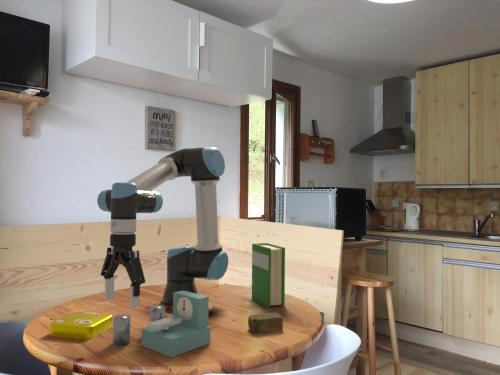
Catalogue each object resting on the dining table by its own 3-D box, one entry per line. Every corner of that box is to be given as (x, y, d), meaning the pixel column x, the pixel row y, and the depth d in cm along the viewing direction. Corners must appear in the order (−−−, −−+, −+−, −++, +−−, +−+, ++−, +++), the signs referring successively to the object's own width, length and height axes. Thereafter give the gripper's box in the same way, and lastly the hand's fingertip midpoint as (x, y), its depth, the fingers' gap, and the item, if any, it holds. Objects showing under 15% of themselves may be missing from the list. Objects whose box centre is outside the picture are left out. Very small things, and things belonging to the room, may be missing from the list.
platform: (173, 325, 127) (173, 315, 127) (182, 328, 124) (182, 318, 124) (149, 332, 120) (149, 322, 120) (157, 336, 118) (157, 325, 118)
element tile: (114, 326, 143) (115, 312, 143) (89, 341, 128) (89, 325, 128) (76, 323, 146) (76, 309, 146) (47, 337, 131) (47, 322, 131)
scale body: (180, 333, 135) (180, 290, 136) (210, 343, 126) (210, 297, 127) (141, 345, 124) (142, 298, 124) (171, 357, 115) (172, 306, 115)
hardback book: (284, 306, 170) (285, 247, 170) (268, 308, 167) (268, 248, 168) (266, 296, 186) (267, 243, 187) (251, 297, 184) (252, 243, 184)
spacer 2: (158, 328, 140) (158, 304, 141) (167, 331, 137) (168, 306, 137) (146, 331, 137) (146, 307, 137) (155, 335, 133) (155, 309, 134)
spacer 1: (123, 339, 129) (124, 313, 129) (133, 343, 126) (133, 316, 126) (109, 343, 125) (109, 316, 126) (118, 347, 122) (119, 320, 122)
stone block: (246, 329, 140) (247, 314, 141) (276, 325, 145) (276, 311, 145) (254, 334, 135) (254, 319, 135) (284, 330, 140) (285, 315, 140)
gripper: (90, 231, 132) (88, 298, 131) (136, 236, 115) (134, 313, 115) (111, 230, 137) (110, 294, 137) (158, 235, 121) (156, 308, 120)
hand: (121, 303), depth 126 cm, fingers open, 13 cm apart
